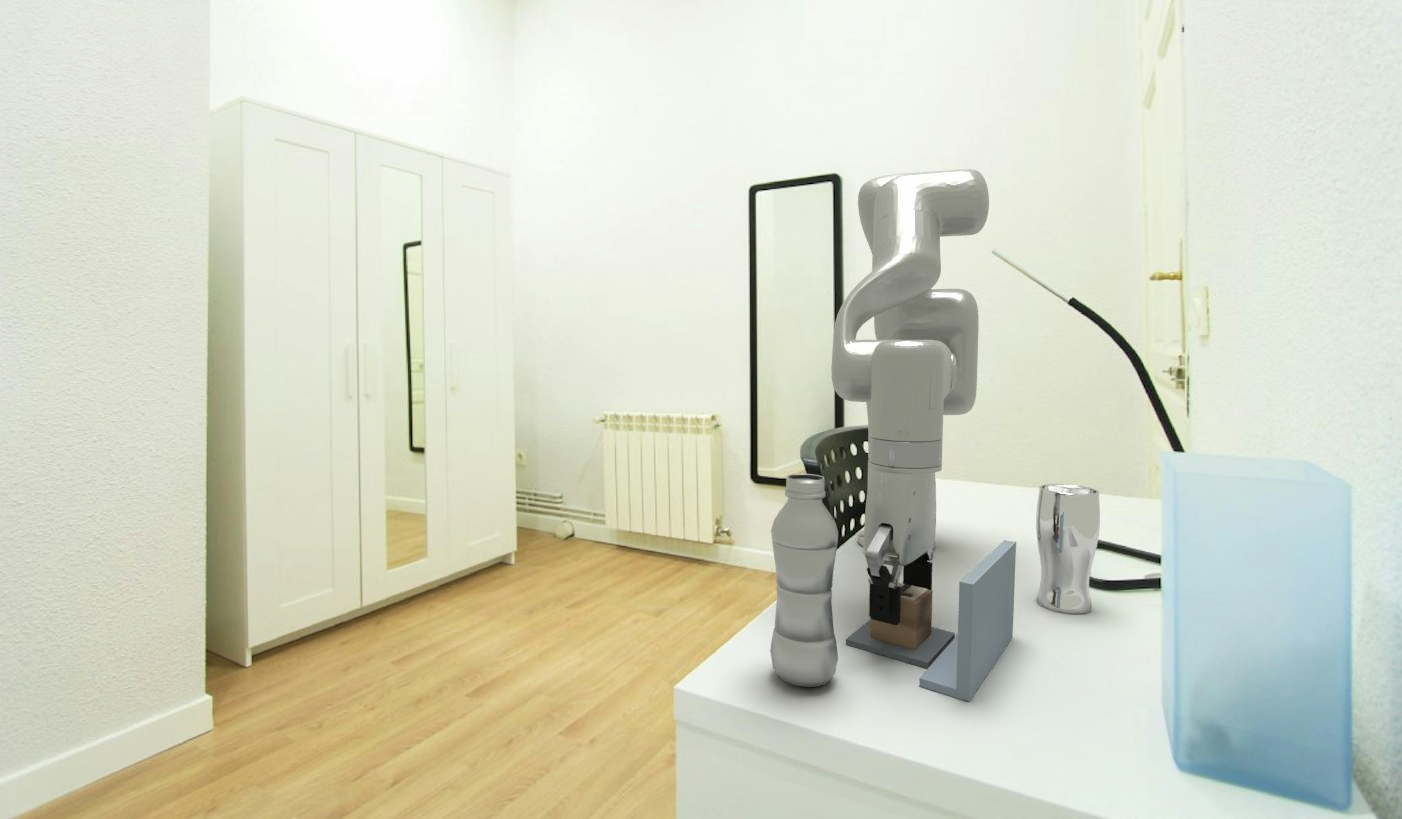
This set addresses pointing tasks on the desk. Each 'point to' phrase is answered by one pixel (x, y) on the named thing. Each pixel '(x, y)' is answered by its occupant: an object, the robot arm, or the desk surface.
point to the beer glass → (1066, 545)
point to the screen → (978, 626)
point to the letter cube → (908, 619)
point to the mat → (917, 657)
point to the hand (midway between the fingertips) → (901, 606)
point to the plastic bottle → (804, 585)
